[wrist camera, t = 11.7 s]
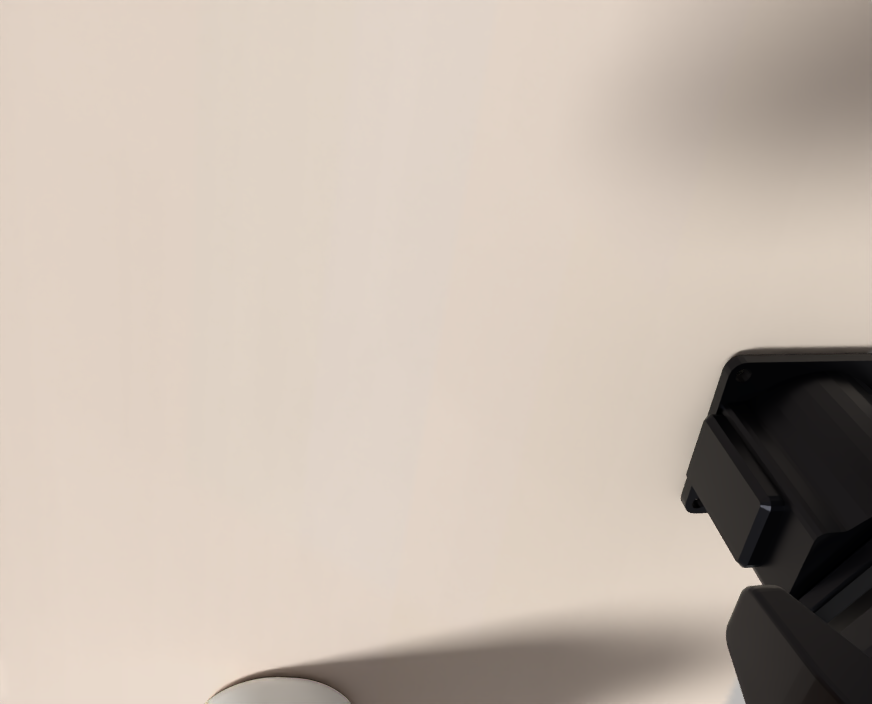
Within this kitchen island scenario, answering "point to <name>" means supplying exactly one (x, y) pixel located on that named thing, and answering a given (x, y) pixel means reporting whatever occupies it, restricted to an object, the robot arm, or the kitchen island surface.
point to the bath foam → (279, 692)
